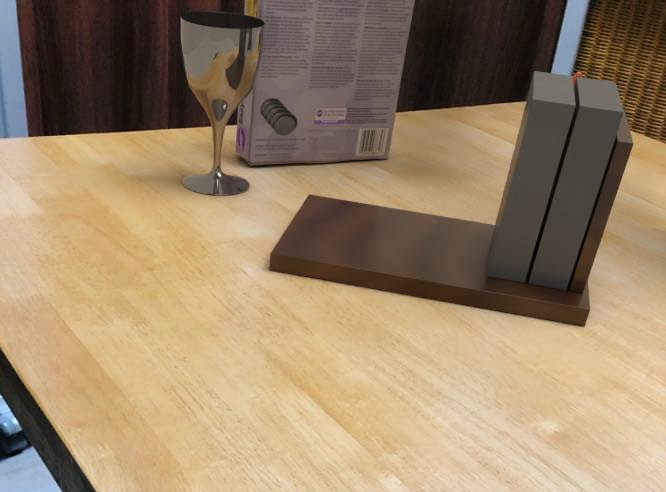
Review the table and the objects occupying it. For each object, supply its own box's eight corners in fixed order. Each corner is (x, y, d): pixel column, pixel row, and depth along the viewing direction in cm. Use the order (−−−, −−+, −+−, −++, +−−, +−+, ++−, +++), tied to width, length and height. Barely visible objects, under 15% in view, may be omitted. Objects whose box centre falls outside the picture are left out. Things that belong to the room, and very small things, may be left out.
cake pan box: (378, 146, 105) (404, -25, 94) (398, 159, 102) (429, -17, 90) (232, 154, 99) (241, -29, 87) (248, 169, 95) (260, -20, 84)
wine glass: (194, 199, 87) (198, 29, 77) (167, 173, 92) (168, 10, 82) (265, 193, 90) (278, 28, 80) (236, 168, 95) (244, 11, 85)
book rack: (579, 254, 83) (628, 103, 74) (584, 326, 71) (644, 155, 63) (307, 209, 87) (323, 59, 78) (269, 269, 75) (283, 101, 66)
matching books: (564, 247, 80) (616, 82, 71) (566, 290, 73) (624, 111, 64) (492, 235, 81) (534, 70, 72) (486, 276, 74) (532, 98, 65)
